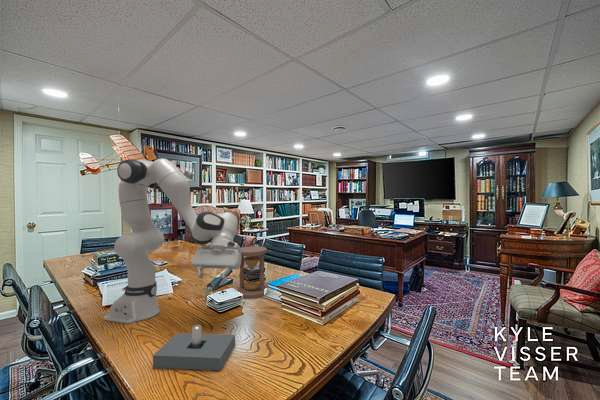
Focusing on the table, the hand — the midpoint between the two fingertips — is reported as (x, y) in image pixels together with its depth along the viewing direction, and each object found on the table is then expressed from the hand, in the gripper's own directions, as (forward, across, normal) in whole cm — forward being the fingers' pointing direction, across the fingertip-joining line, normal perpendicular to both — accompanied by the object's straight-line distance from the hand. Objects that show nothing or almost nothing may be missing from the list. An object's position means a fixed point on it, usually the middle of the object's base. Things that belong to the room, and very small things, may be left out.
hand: (210, 278), depth 104 cm
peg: (+26, +2, +3) cm, 26 cm away
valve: (-2, -15, +39) cm, 41 cm away
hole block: (+26, +2, +3) cm, 26 cm away
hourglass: (-12, 0, +50) cm, 51 cm away
